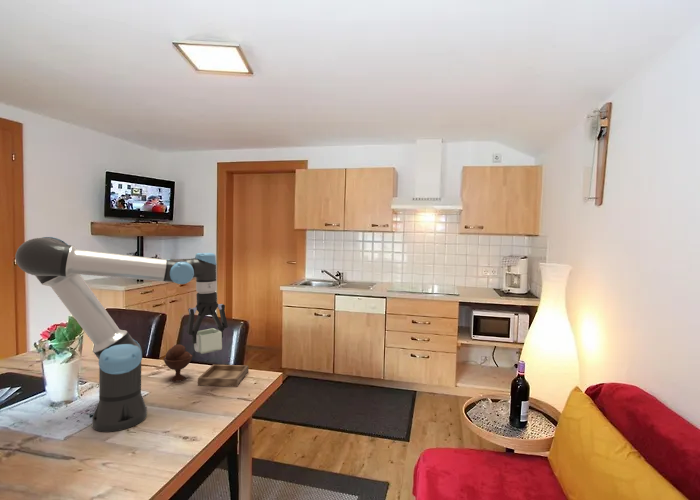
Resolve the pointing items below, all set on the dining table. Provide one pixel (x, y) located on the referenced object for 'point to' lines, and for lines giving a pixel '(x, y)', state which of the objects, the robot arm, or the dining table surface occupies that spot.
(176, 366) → the ice cream bowl
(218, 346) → the sage crate
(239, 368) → the walnut tray
